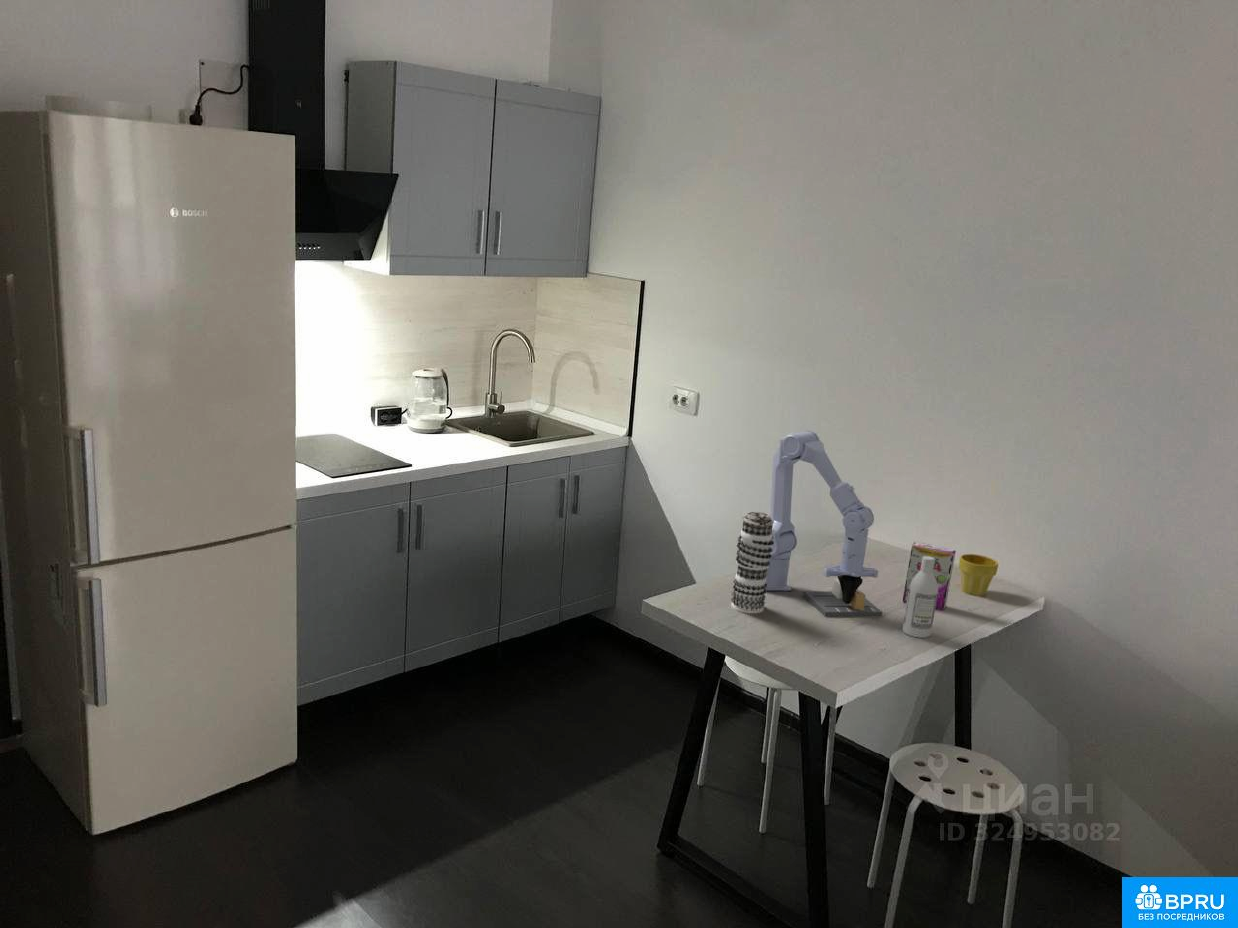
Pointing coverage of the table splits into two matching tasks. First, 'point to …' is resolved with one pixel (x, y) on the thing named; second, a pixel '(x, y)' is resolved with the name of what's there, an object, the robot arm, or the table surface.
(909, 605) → the bath foam
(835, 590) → the cream fader knob
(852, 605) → the amber fader knob
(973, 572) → the plant pot
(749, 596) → the decorative candle
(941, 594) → the candy bar box
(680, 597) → the table surface
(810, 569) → the table surface
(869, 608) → the mixing board
